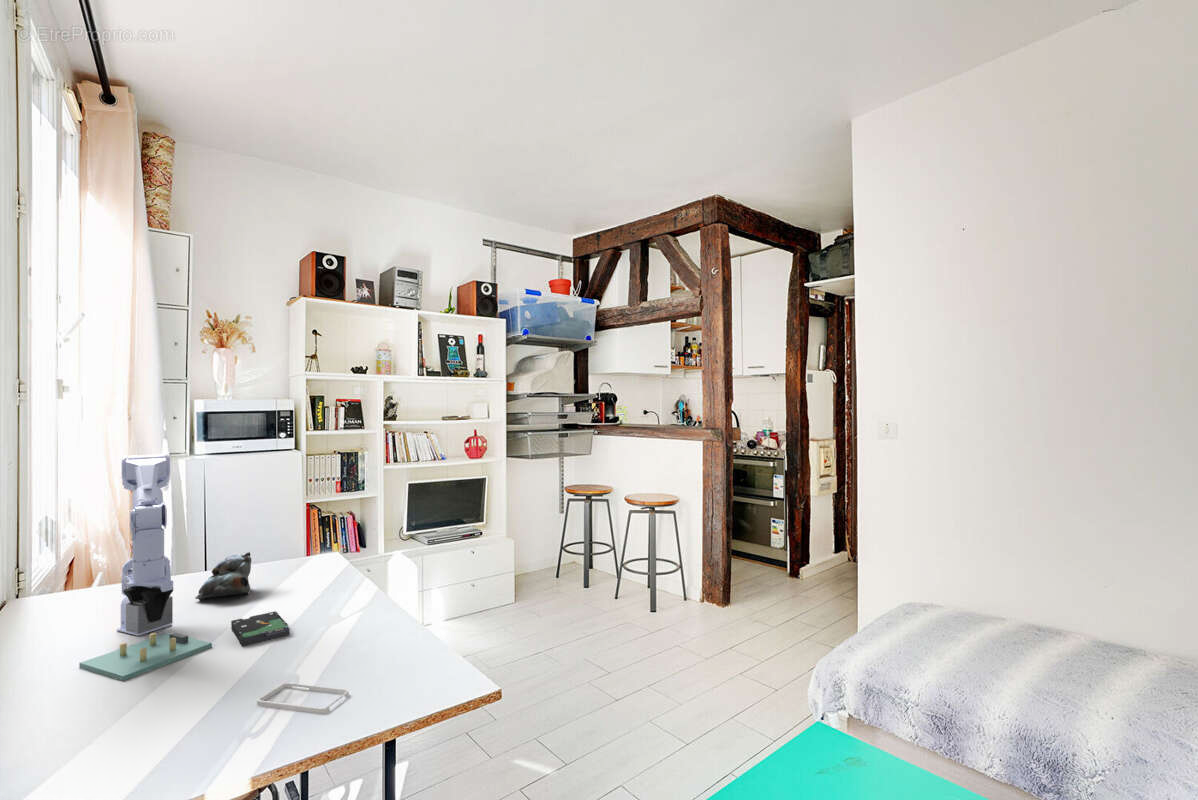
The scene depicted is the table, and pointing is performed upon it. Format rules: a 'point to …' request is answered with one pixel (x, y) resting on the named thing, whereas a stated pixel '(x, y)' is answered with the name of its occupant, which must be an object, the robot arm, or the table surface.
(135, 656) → the teal peg board
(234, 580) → the grey lumpy piece
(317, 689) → the phone case
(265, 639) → the disk drive
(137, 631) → the dark grey block
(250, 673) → the table surface
